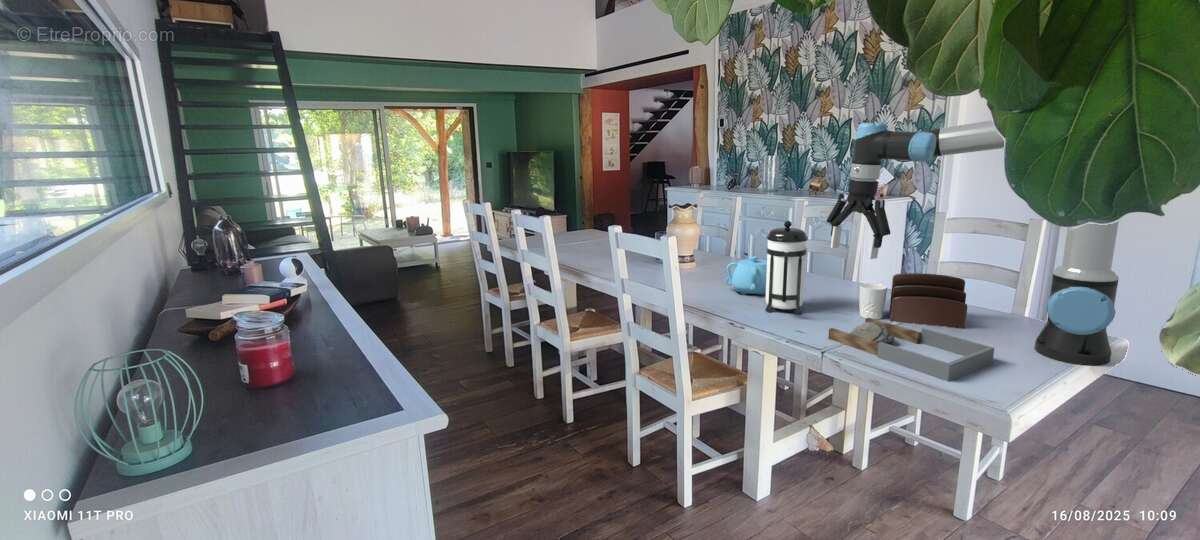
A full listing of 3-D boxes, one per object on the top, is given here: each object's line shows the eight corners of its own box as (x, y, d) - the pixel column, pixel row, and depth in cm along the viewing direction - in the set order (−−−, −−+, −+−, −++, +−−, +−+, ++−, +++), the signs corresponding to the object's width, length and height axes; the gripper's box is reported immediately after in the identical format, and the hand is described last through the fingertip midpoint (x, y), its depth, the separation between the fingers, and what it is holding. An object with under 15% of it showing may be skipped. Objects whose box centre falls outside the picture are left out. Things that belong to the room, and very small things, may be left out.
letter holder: (889, 312, 183) (893, 270, 180) (960, 319, 175) (966, 275, 172) (889, 321, 174) (894, 277, 171) (965, 329, 166) (970, 283, 163)
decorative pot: (755, 284, 222) (756, 250, 219) (784, 293, 208) (785, 257, 205) (721, 290, 216) (722, 255, 213) (748, 299, 201) (750, 262, 198)
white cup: (878, 312, 183) (881, 282, 181) (888, 320, 175) (891, 289, 173) (853, 312, 184) (856, 283, 182) (862, 320, 176) (864, 289, 174)
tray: (992, 362, 142) (994, 347, 141) (947, 381, 132) (949, 365, 131) (922, 341, 157) (923, 328, 156) (877, 357, 147) (878, 342, 146)
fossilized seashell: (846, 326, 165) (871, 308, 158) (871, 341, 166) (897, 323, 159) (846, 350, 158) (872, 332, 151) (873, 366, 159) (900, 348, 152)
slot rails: (920, 342, 156) (921, 332, 156) (879, 356, 148) (880, 345, 147) (867, 327, 170) (868, 317, 169) (828, 338, 161) (828, 328, 160)
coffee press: (749, 306, 193) (751, 220, 186) (786, 300, 199) (790, 216, 192) (782, 320, 178) (787, 227, 171) (822, 313, 183) (828, 222, 177)
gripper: (820, 175, 167) (811, 244, 173) (893, 185, 145) (880, 264, 151) (838, 174, 170) (829, 242, 176) (913, 184, 148) (899, 262, 154)
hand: (852, 252), depth 163 cm, fingers open, 13 cm apart
